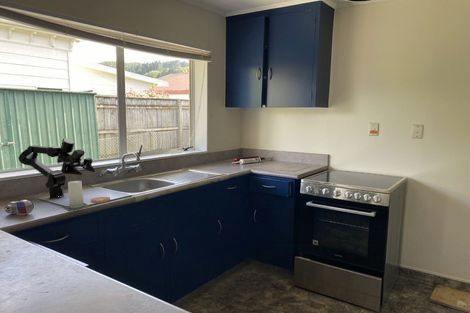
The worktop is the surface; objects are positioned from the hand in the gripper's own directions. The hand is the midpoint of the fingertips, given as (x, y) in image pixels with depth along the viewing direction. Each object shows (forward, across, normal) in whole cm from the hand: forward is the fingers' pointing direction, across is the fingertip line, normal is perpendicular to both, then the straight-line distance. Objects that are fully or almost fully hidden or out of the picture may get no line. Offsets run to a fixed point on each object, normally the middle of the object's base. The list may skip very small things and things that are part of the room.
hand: (88, 172), depth 186 cm
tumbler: (+12, -14, +11) cm, 22 cm away
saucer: (+14, 0, +10) cm, 17 cm away
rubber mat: (+12, -14, +11) cm, 22 cm away
